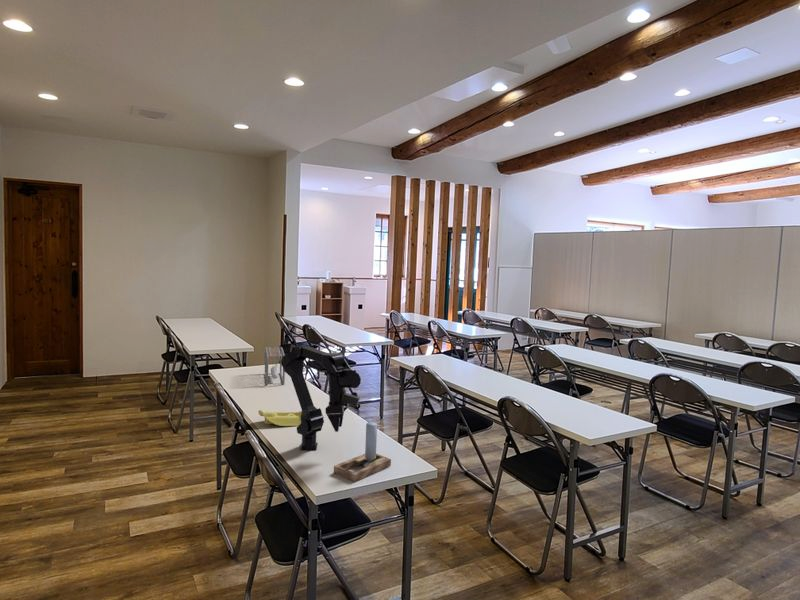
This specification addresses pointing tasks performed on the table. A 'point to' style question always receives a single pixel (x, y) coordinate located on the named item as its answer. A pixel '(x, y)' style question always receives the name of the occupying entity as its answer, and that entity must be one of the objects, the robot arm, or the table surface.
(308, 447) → the robot arm
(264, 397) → the table surface
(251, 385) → the table surface
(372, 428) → the slate peg
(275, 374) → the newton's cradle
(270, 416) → the banana
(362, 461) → the keyhole block
